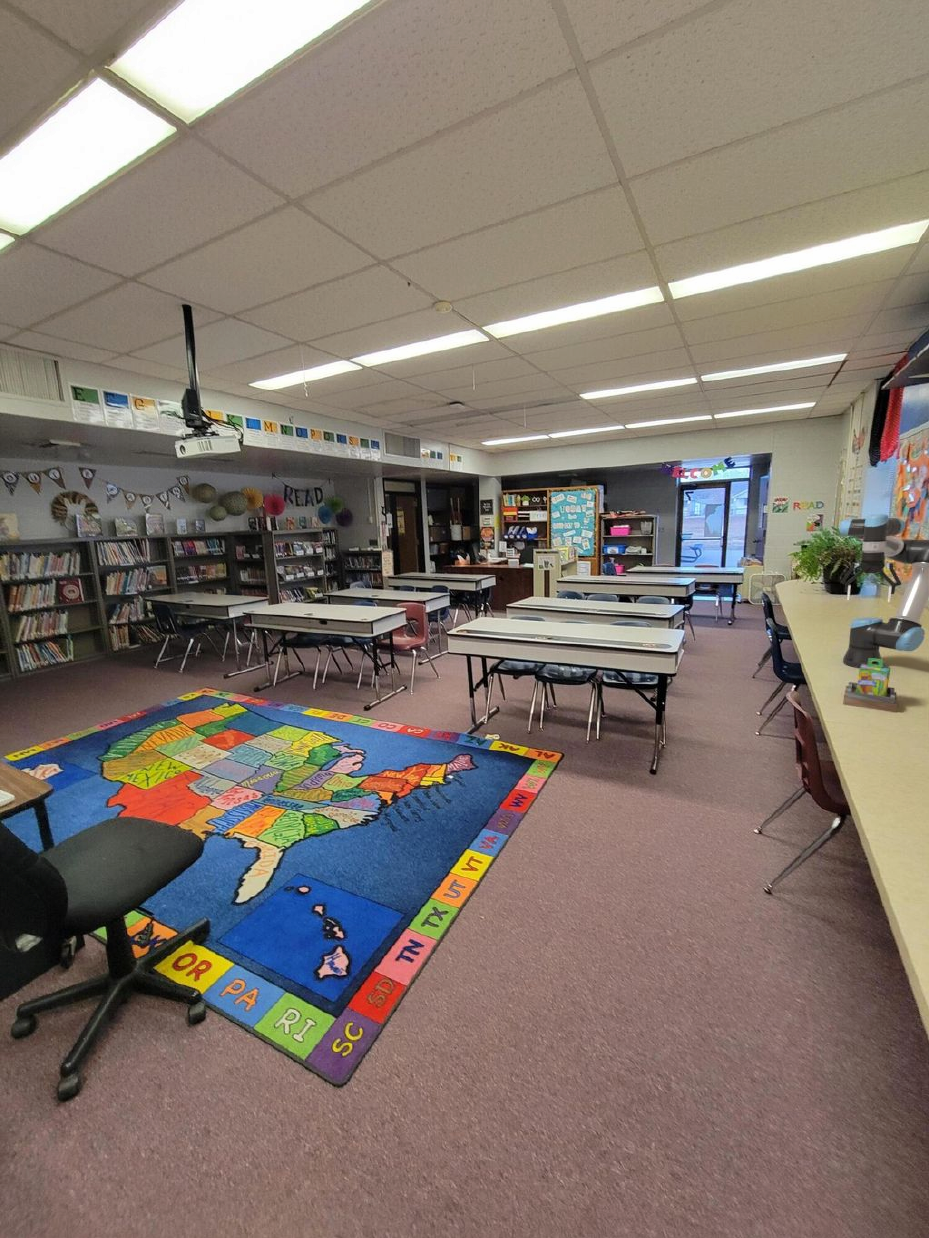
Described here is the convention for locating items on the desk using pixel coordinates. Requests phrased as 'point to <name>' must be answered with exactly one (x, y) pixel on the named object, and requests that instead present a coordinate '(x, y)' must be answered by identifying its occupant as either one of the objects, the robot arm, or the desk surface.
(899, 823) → the desk surface
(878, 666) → the chalk box
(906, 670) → the desk surface
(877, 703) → the square frame
